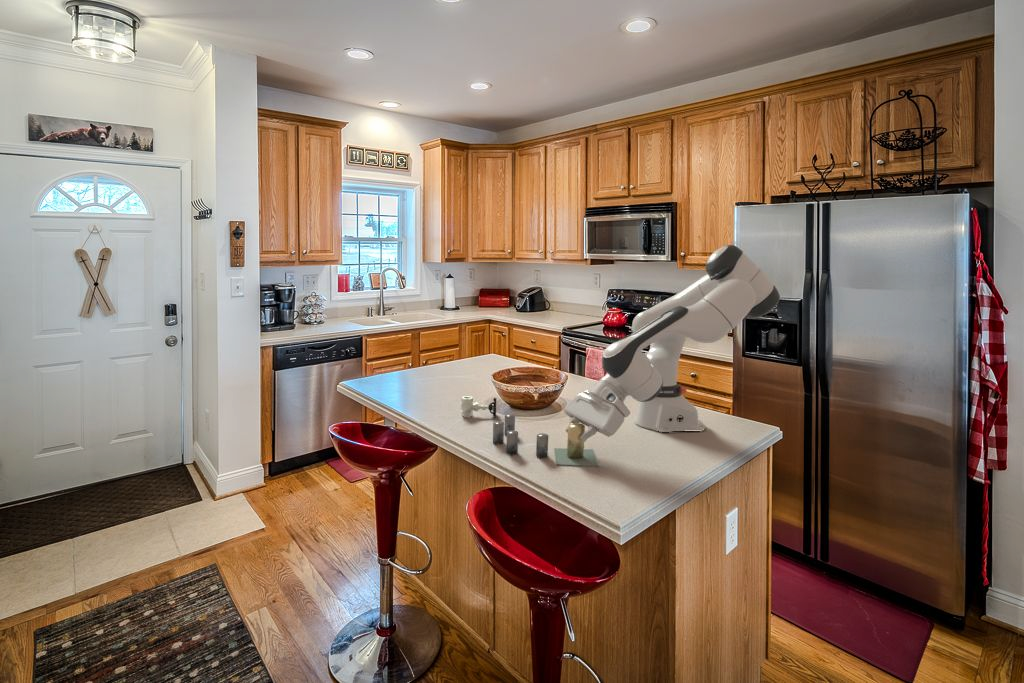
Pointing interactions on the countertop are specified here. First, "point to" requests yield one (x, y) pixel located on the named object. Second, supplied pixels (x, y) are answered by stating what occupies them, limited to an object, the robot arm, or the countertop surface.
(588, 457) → the mat
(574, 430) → the gold metal cylinder
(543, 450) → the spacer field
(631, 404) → the countertop surface
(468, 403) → the valve
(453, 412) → the countertop surface
